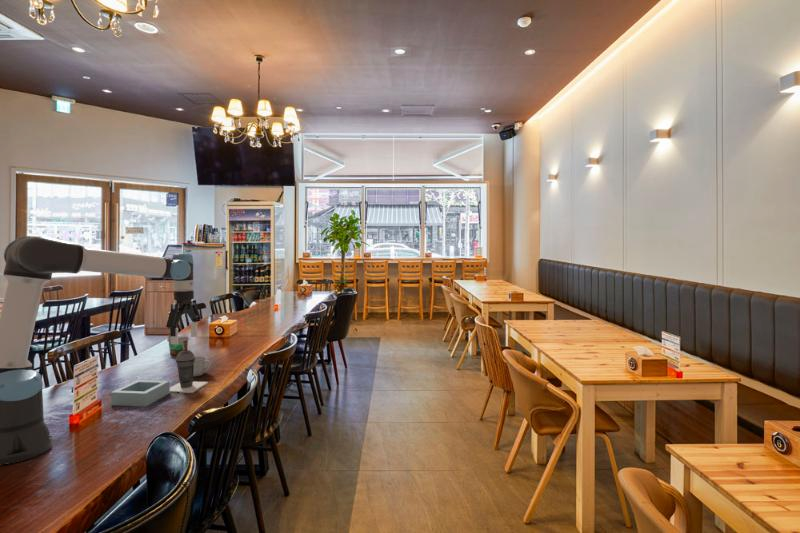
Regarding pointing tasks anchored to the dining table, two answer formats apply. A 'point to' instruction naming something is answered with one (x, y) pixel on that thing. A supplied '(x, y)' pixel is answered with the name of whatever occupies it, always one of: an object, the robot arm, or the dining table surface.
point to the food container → (177, 345)
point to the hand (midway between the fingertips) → (184, 340)
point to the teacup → (200, 365)
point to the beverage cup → (185, 367)
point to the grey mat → (191, 389)
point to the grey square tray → (140, 393)
